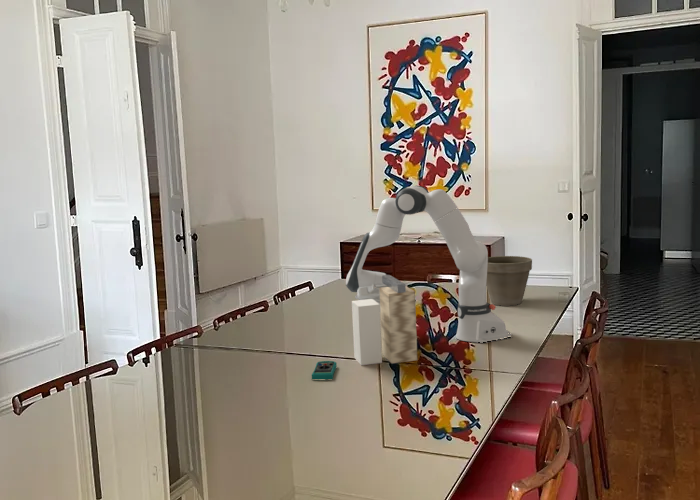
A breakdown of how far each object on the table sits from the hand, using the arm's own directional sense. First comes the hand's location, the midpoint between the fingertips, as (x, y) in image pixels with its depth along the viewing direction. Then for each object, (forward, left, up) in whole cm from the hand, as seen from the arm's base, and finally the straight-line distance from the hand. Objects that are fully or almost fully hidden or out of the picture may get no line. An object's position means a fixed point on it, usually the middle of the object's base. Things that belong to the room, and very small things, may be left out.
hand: (386, 284), depth 273 cm
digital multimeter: (+30, +22, -26) cm, 46 cm away
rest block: (+12, +13, -25) cm, 31 cm away
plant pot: (-75, -50, -25) cm, 93 cm away
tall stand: (0, +14, -25) cm, 29 cm away
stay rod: (0, +10, +1) cm, 10 cm away
